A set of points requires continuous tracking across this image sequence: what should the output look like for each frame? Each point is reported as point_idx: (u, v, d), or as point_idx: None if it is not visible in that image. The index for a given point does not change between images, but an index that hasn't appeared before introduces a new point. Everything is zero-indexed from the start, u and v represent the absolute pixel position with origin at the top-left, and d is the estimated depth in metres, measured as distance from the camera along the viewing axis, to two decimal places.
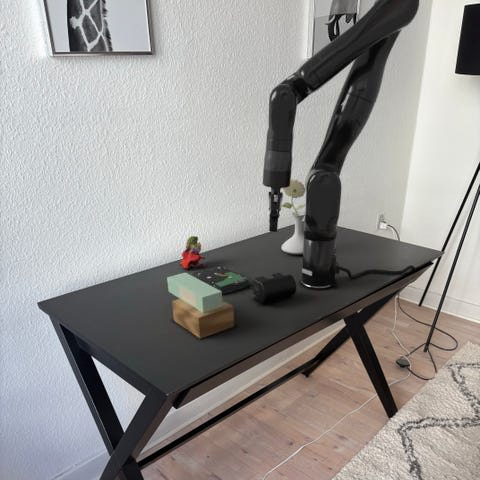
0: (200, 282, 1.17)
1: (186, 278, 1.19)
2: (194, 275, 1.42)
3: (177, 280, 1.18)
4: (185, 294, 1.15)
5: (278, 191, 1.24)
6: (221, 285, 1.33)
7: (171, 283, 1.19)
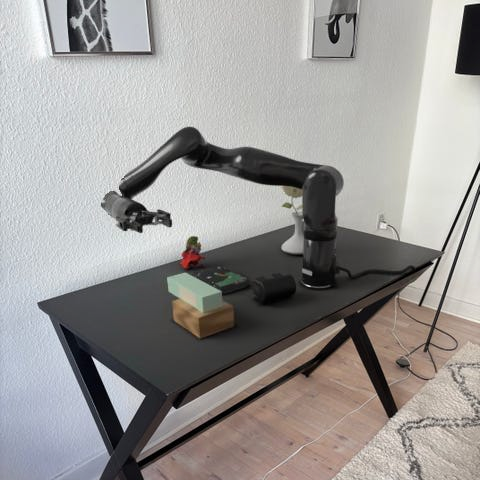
0: (200, 282, 1.17)
1: (186, 278, 1.19)
2: (194, 275, 1.42)
3: (177, 280, 1.18)
4: (185, 294, 1.15)
5: (125, 217, 1.28)
6: (221, 285, 1.33)
7: (171, 283, 1.19)
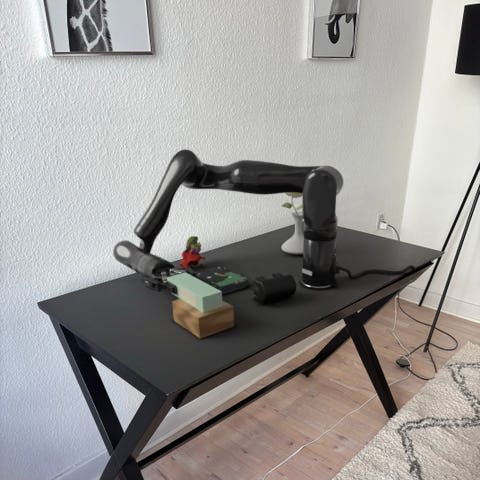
0: (200, 282, 1.17)
1: (186, 278, 1.19)
2: None
3: (177, 280, 1.18)
4: (185, 294, 1.15)
5: (152, 276, 1.25)
6: (221, 285, 1.33)
7: None
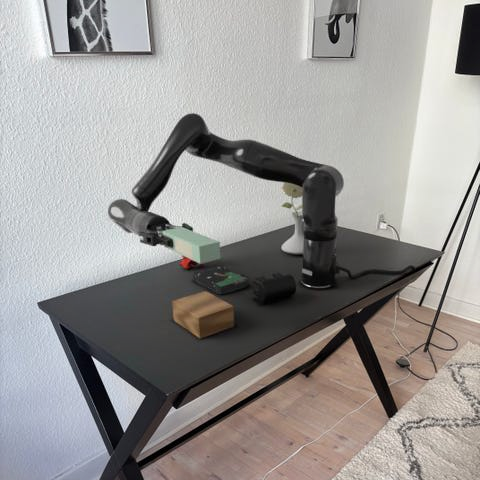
0: (197, 234, 1.11)
1: (182, 231, 1.14)
2: (194, 275, 1.42)
3: (173, 233, 1.13)
4: (182, 246, 1.09)
5: (147, 231, 1.20)
6: (221, 285, 1.33)
7: (167, 236, 1.14)
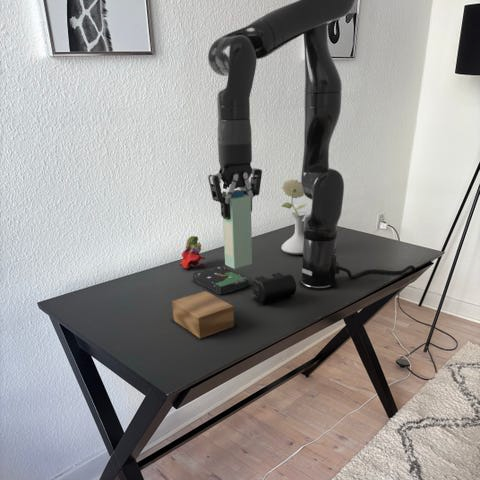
0: (249, 232, 1.13)
1: (243, 214, 1.10)
2: (194, 275, 1.42)
3: (235, 215, 1.09)
4: (228, 237, 1.12)
5: (223, 169, 1.04)
6: (221, 285, 1.33)
7: None
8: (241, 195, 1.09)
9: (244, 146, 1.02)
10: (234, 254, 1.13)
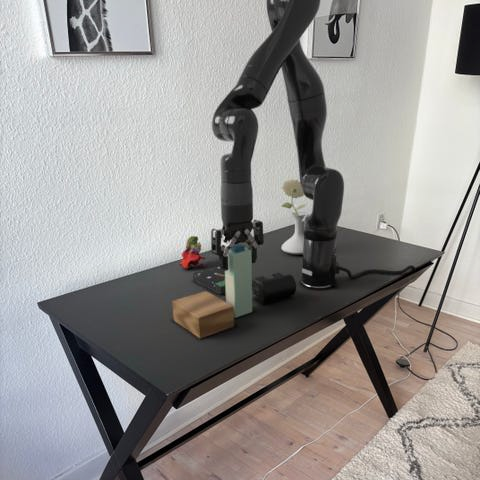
0: (249, 283, 1.19)
1: (244, 267, 1.16)
2: (194, 275, 1.42)
3: (236, 269, 1.15)
4: (230, 288, 1.18)
5: (226, 226, 1.10)
6: (221, 285, 1.33)
7: (231, 262, 1.14)
8: (242, 250, 1.15)
9: (246, 206, 1.07)
10: (235, 304, 1.18)
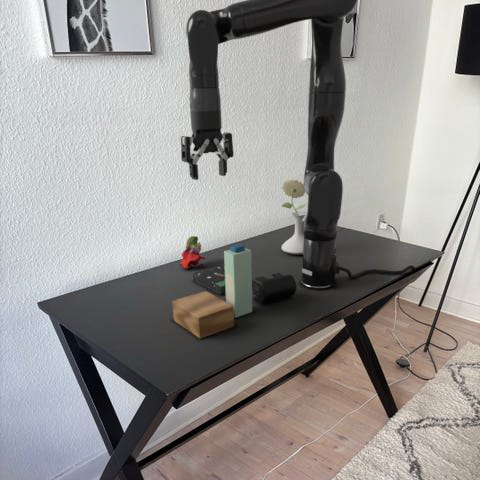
0: (249, 283, 1.19)
1: (244, 267, 1.16)
2: (194, 275, 1.42)
3: (236, 269, 1.15)
4: (230, 288, 1.18)
5: (195, 134, 1.14)
6: (221, 285, 1.33)
7: (231, 262, 1.14)
8: (242, 250, 1.15)
9: (213, 113, 1.12)
10: (235, 304, 1.18)
